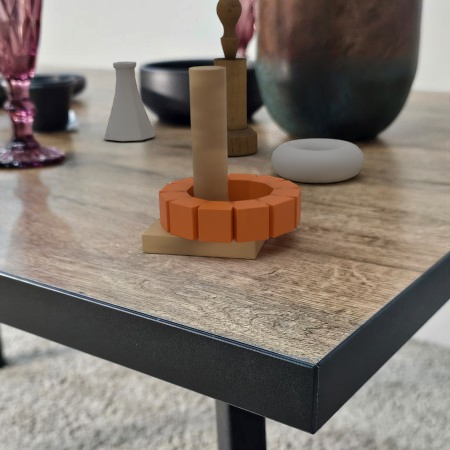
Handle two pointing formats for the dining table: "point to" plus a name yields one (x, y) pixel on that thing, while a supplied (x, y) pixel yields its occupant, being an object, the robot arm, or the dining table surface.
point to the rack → (205, 168)
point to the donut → (317, 160)
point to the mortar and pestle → (235, 82)
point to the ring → (232, 210)
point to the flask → (127, 108)
